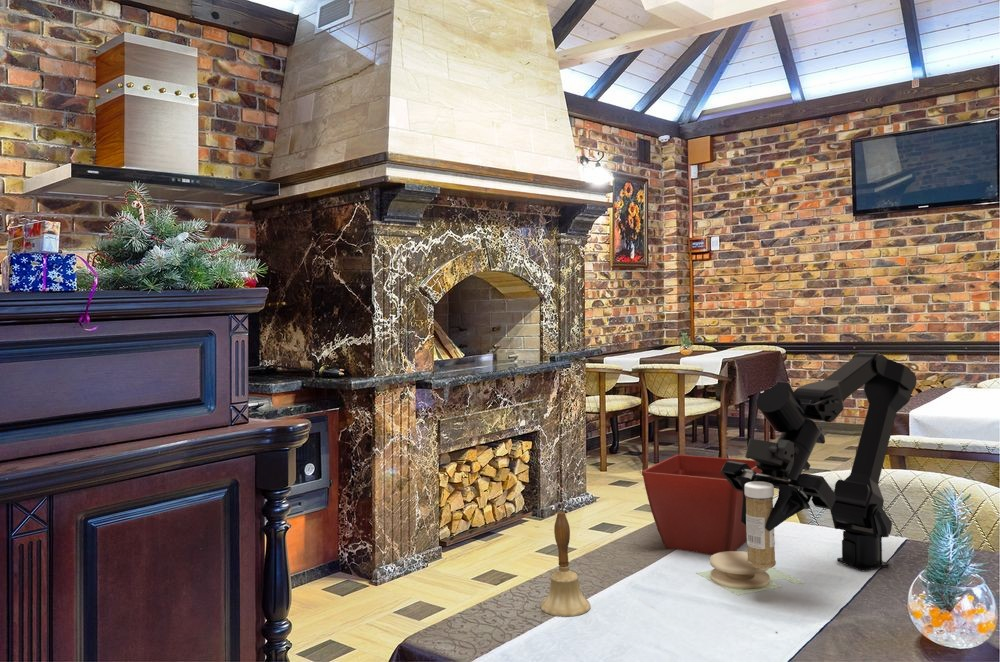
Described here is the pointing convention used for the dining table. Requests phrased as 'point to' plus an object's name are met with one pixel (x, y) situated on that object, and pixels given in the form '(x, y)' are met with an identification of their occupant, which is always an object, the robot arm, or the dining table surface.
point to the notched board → (773, 575)
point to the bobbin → (737, 571)
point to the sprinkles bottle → (759, 524)
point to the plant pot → (696, 504)
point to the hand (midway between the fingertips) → (755, 526)
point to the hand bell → (564, 579)
